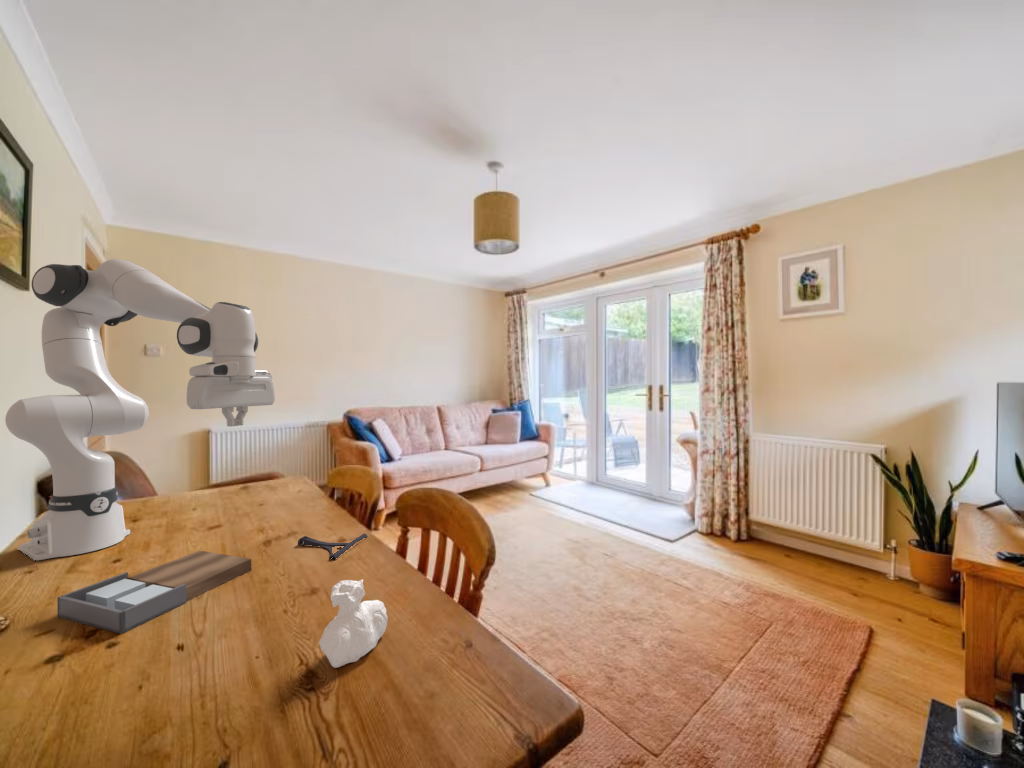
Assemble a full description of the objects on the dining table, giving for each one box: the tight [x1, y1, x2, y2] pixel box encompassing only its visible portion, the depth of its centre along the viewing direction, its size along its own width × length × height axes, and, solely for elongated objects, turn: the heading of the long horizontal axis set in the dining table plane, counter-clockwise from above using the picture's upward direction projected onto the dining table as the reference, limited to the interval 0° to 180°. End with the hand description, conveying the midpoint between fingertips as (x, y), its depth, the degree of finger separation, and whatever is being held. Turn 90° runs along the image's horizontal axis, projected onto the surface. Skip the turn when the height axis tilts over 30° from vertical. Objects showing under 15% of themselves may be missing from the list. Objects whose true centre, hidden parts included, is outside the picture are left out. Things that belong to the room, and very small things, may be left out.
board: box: [128, 550, 252, 602], centre depth 87 cm, size 16×14×2 cm
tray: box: [56, 571, 187, 635], centre depth 76 cm, size 17×10×4 cm, turn 72°
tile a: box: [86, 579, 145, 608], centre depth 78 cm, size 6×6×2 cm
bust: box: [318, 579, 389, 669], centre depth 64 cm, size 12×8×11 cm
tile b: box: [115, 585, 173, 610], centre depth 76 cm, size 6×6×2 cm
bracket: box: [297, 533, 368, 560], centre depth 105 cm, size 14×15×3 cm
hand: (235, 425), depth 101 cm, fingers closed
